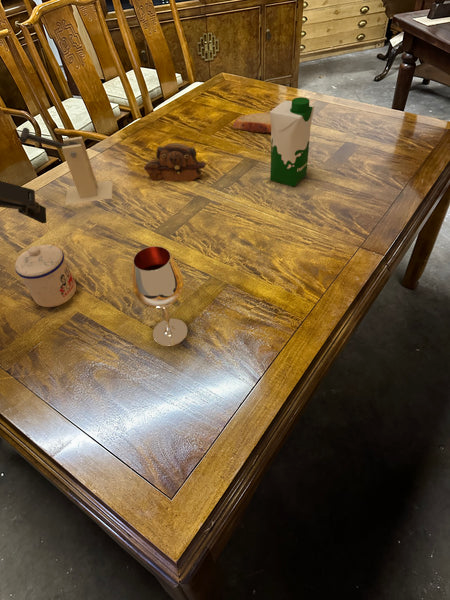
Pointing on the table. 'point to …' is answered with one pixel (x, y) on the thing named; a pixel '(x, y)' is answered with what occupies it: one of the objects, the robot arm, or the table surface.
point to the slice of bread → (254, 122)
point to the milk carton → (290, 140)
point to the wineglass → (159, 290)
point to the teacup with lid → (46, 275)
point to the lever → (41, 139)
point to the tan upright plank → (83, 175)
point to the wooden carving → (175, 163)
